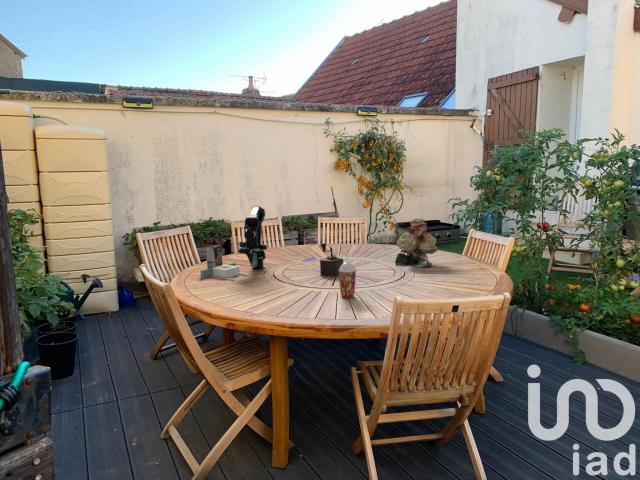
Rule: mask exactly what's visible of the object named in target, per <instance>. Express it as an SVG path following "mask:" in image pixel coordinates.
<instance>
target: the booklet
mask: <svg viewBox="0 0 640 480" xmlns="http://www.w3.org/2000/svg"><path fill="white" fill-rule="evenodd" d="M318 259H319V258H318V257H313V256H312V257H310V258H307V259H302V261H304V262H309V261H313V260H318Z"/></svg>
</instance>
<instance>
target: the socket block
mask: <svg viewBox="0 0 640 480" xmlns="http://www.w3.org/2000/svg"><path fill="white" fill-rule="evenodd" d="M239 273H240V266H237V265H236V266H232V265H225V264H223V266H219V267H215V268H213V275H215V276H221V277H226V278H232V277H236V276H240V275H239Z"/></svg>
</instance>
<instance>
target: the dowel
mask: <svg viewBox="0 0 640 480" xmlns="http://www.w3.org/2000/svg"><path fill="white" fill-rule="evenodd" d="M249 264H250V263H249ZM249 266H250V268H253V267H257V253H253V261H252V264H250V265H249Z"/></svg>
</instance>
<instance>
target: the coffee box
mask: <svg viewBox="0 0 640 480" xmlns="http://www.w3.org/2000/svg"><path fill="white" fill-rule="evenodd" d="M205 248H206V265H207V268H206V269H208V268H212V267H216V266H221V265H224V263H223V261H224V260H223V246H222V245H219V244H217V245H216V244H213V245H211V246H207V247H205Z"/></svg>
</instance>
